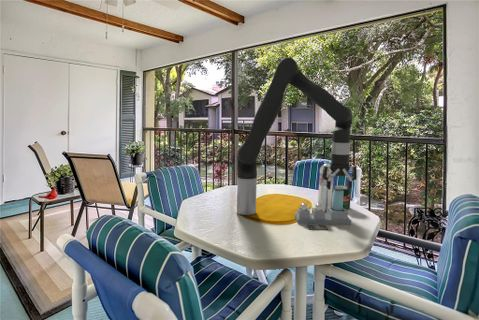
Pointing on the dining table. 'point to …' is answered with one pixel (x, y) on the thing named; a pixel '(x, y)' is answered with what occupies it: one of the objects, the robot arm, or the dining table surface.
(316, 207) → the plunger
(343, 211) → the filter housing
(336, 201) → the blue capsule with label
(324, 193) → the water bottle
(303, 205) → the plunger
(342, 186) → the canned tomato
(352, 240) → the dining table surface
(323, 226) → the rubber mat
